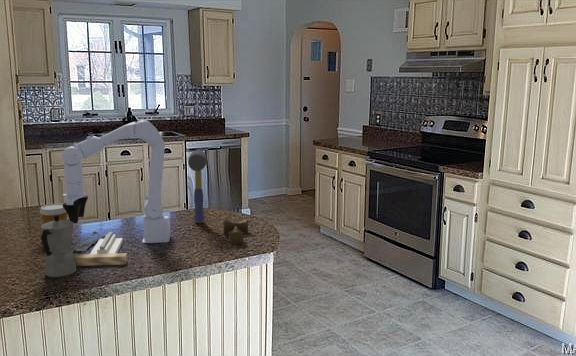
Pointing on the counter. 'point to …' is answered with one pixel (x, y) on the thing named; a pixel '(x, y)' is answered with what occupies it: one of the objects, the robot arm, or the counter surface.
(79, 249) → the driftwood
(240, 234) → the kendama
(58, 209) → the disposable coffee cup
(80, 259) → the oak bar
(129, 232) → the counter surface
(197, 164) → the rubber mallet
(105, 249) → the ridge block
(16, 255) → the counter surface
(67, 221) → the coffeepot
